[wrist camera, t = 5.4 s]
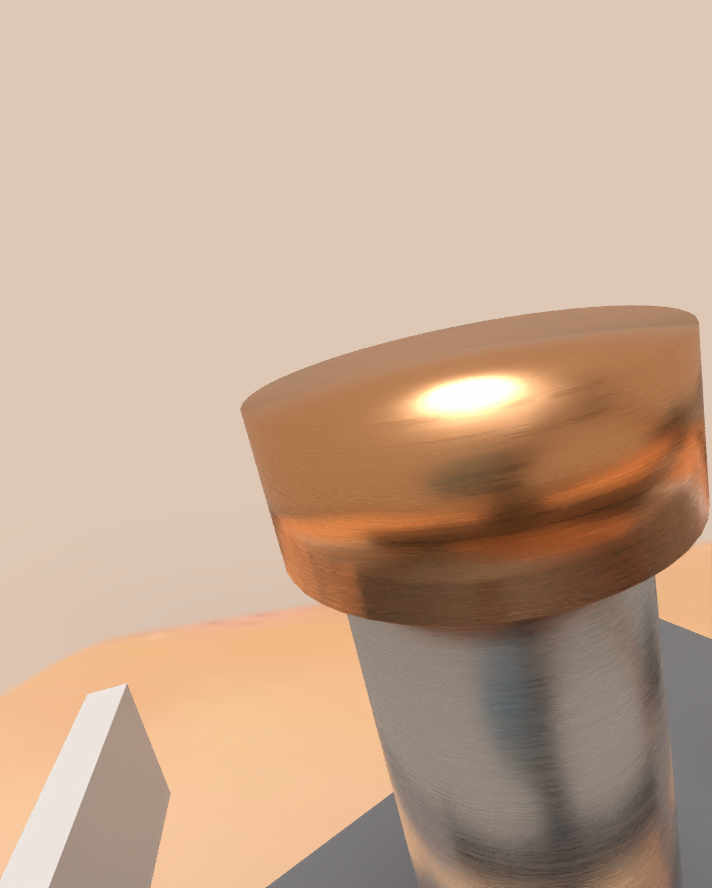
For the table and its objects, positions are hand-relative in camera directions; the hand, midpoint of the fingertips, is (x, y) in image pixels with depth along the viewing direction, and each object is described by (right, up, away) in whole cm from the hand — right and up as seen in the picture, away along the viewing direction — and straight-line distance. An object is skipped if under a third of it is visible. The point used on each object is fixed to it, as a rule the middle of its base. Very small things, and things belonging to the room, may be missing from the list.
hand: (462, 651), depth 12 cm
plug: (+3, -10, 0) cm, 10 cm away
